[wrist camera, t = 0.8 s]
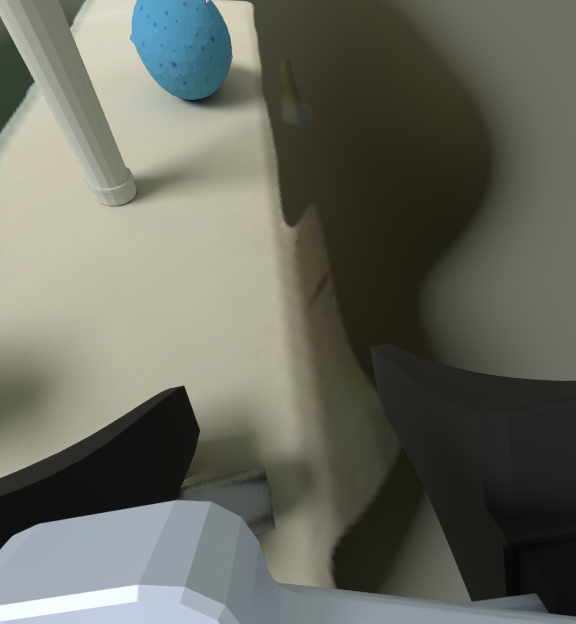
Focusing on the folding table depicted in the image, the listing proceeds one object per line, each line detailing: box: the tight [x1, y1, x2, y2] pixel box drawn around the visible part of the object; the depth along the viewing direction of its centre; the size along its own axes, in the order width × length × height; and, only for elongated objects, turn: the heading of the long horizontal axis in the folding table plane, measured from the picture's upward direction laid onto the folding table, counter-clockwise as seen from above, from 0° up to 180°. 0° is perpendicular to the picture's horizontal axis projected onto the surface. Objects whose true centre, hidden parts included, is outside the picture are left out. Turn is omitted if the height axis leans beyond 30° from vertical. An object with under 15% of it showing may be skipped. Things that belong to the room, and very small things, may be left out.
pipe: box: [0, 0, 137, 206], centre depth 28 cm, size 6×6×30 cm
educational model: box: [130, 0, 233, 100], centre depth 51 cm, size 16×19×15 cm
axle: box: [176, 466, 275, 536], centre depth 21 cm, size 4×12×4 cm, turn 103°
